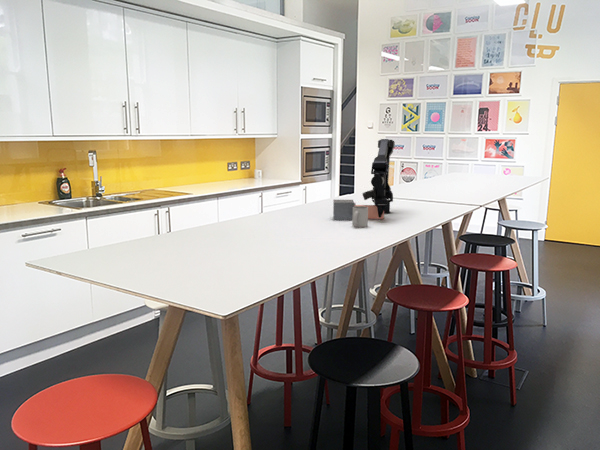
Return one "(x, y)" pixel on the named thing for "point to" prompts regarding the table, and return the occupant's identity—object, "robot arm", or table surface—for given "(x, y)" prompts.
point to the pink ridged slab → (372, 212)
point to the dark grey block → (343, 209)
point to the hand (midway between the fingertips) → (378, 215)
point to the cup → (360, 216)
